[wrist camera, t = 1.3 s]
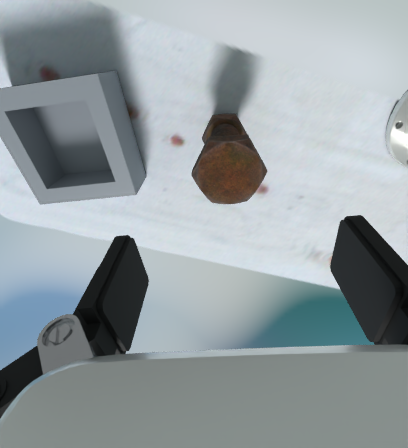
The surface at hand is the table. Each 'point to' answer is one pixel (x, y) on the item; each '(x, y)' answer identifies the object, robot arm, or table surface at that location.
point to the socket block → (72, 138)
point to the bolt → (228, 162)
